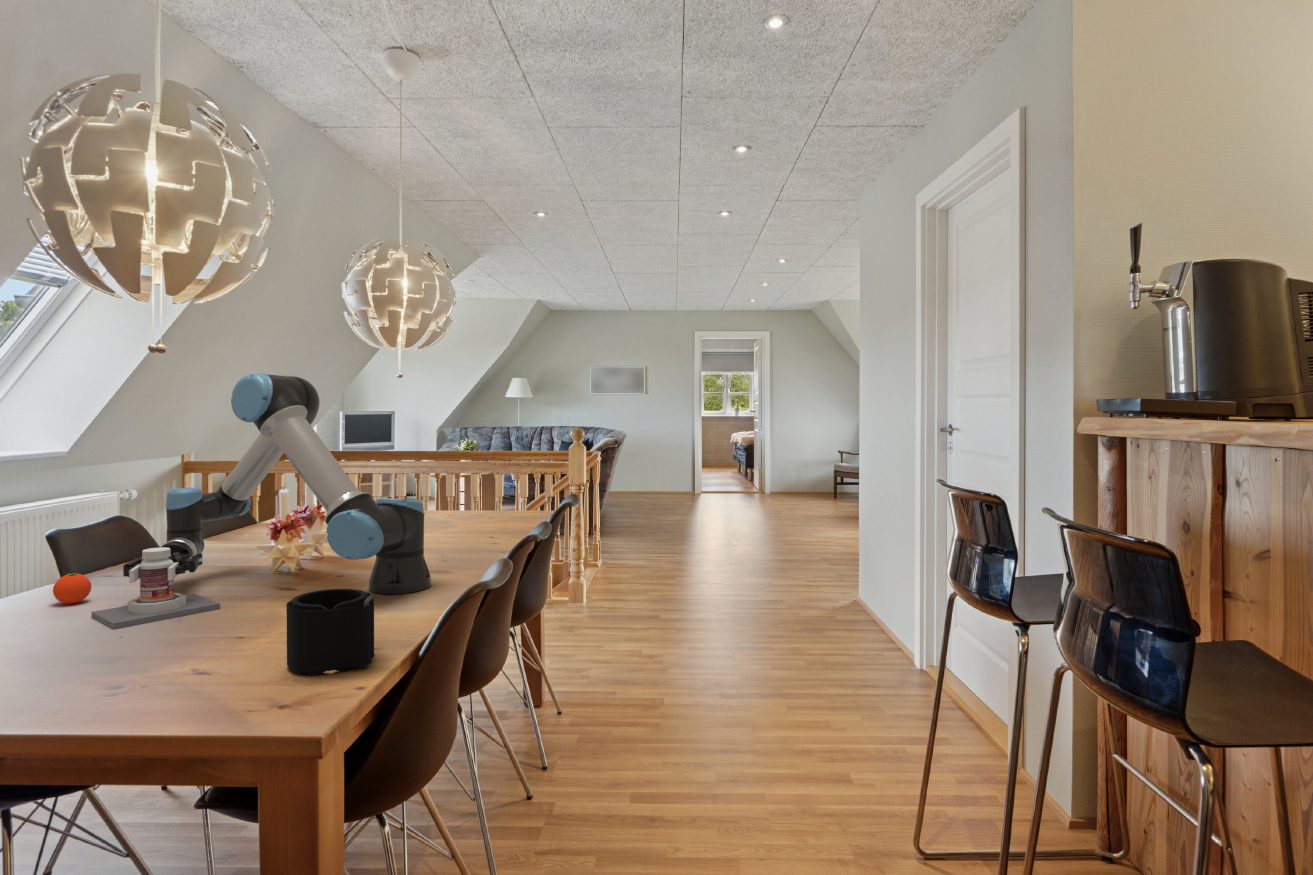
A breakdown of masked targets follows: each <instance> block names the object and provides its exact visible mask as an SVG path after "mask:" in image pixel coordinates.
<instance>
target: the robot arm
mask: <svg viewBox="0 0 1313 875" xmlns="http://www.w3.org/2000/svg"><path fill="white" fill-rule="evenodd" d="M230 402H231V403H230V404H231V410H232V411H233V414H234V415H235V417H236V418H238V419H239V420H241V421H242V422H246V423H249V424H250V423H253V424H254V425H255V427H256V428H257V429H258V431H259V432H260V433H259V435H258V437H256V438H255V440H254V442H253V443H252V444H251V446H250V447H249V448H248V449H247V451H246V452H245V453H244V455H243V456H242V457H241V459H239V462H238V463H237V464H236V465H235V467H234V468H233V469H232V470H231V472H230V474H229V475H228V476H227V477H226V478H225V480H224V481H223V483H222V484H221V485H220V486H219V488H218V489H217V490H216V491H213V492H203V493H202V489H200V488H199V487H177V488H176V487H174V488H171V489H169V490H168V491H167V493H166V498H165V499H166V502H165V510H166V512H165V513H166V543H164V544H163V545H161V546H160V547H167V548H170V550H171V556H170V557H168V558H169V559H171V560H172V561H173V564H172V565H171V566H170V567H169V568H168V581H171V580H173V579H174V580H175V578H176V577H177V576H179V575H181V574H186V572H188V573H195V572H196V571H197V569H198V567H199V566H202V565H203V551H204V548H205V541H204V539H203V536H202V531H203V529H202V526H203V525H202V524H203V523H205V522H211V521H212V522H213V521H218V520H225V519H233V518H237V517H241V516H243V515H245V514H247V513H248V512H249V510H250V509H251V504H252V500H251V497H252V495H253V494H254V492H255V491H256V489H257V488H258V486H259V485H260V484H261V483H262V482H263V481H264V479H265V478H266V476H267V475H268V474H269V472H271V471H272V469H273V468H274V466H275V465H276V464H277V462H278V461H279V460H280V458H281V457H282V456H283V455H284V456H285V457H286V458H287V459H288V460H289V462H290V463H291V465H292V466H293V467H294V469H295V470H296V472H297V473H298V475H300V477H301V478H302V480H303V481H304V483H305V484H306V485H307V487H308V488H309V489H310V491H311V492H312V494H313V495H314V497H315V498H316V499H317V500H318V502H319V503H320V504H321V506H322V507H323V509H324V510H325V511H326V514H325V518H324V522H325V523H326V525H327V526H326V530H325V531H326V533H327V536H326V539H327V543H328V545H329V546H330V548H331V550H333V552H334V553H336V555H338V556H339V557H341V558H343V559H347V560H349V561H350V560H352V561H357V560H365V559H369V558H373V557H374V556H375V561H374V564H373V567H372V570H371V574H370V576H369V580H368V591H370V592H371V593H375V594H382V595H383V594H384V595H396V594H397V595H399V594H400V595H401V594H410V593H415V592H420V591H423V590H427V589H428V588H430V587H431V584H432V578H431V573H430V570H429V567H428V564H427V562H426V560H425V559H426V558H425V556H424V555H425V546H424V545H425V508H424V507H425V506H424V503H423V502H422V501H421V500H419V499H410V498H409V499H404V498H403V499H402V498H384V497H383V498H377V499H376V500H375V499H374V498H373V496H372V495H371V494H370V493H369V492H366V491H360V489H358V488H357V486H356V485H355V484H354V481H352V480H351V478H350V476H349V475H348V474H347V472H345V470H344V469H343V467H342V466H341V464H340V463H339V462H338V461H337V459H336V458H335V457H334V455H333V453H332V452H331V451H330V449H328V447H327V446H326V444H325V443H324V441H322V438H320V436H319V435H318V433H317V432H316V431H315V430H314V427H312V424H313V422H314V421H315V419H316V417H317V415H318V413H319V409H320V396H319V393H318V391H317V388H316V387H315V386H314V385H313V384H312V383H311V382H309V381H308V380H306V379H305V378H302V377H299V376H294V375H293V376H291V375H290V376H289V375H279V374H278V375H277V374H267V373H262V372H261V373H251V374H247V375H244V376H242V377H241V378H239V380H237V382H236V384H235V385H234V387H233V389H232V392H231V398H230ZM143 561H145V559H142V556H141V557H140V556H136V557H134V559H133V560H131V561H129V562H127V563H125V564H123V566H122V568H123V570H122V572H123V577H128V578H129V579H128V580H129V581H128V583H129V584H135V583H136V582H137V581H138V580H140V564H141V563H142V562H143Z"/></svg>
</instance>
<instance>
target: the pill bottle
mask: <svg viewBox="0 0 1313 875" xmlns="http://www.w3.org/2000/svg"><path fill="white" fill-rule="evenodd" d="M141 554H142V555H141V558H142V559H144V560H145V561H143V562H142V563H141V564H140V579H139V597H140V600H141V602H144V603H155V602H163V601H167V600H170V599H172V598H173V597H174V593H175V581H174V580H175V578H174V579H173V580H171V581H168V568H169V567H170V566H171V565H172V564H173V561H172V560H171V559H169V558H168V557H170V556H171V550H170V548H167V547H161V546H159V547H150V548H146V549H142V552H141Z"/></svg>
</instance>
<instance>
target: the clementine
mask: <svg viewBox="0 0 1313 875" xmlns="http://www.w3.org/2000/svg"><path fill="white" fill-rule="evenodd" d="M91 591H92V583H91V581H90V579H89V578H88V577H87V576H86V575H84V574H81V573H74V572H73V573H72V572H71V573H67V574H65V575H63V576H61V577H60V578H58V579H57V581H55V583H54V585H53V586H52V595H53V596H54V598H55V599H56V601H58V602H59V603H60V602H61V603H63V604H67V605H71V604H72V605H73V604H77V603H80V602H82V601H83V600H85V599H86V598H88V596H89V595H90V593H91Z"/></svg>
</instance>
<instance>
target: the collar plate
mask: <svg viewBox="0 0 1313 875" xmlns="http://www.w3.org/2000/svg"><path fill="white" fill-rule="evenodd" d="M217 610H221V602H219V601H218V602H217V601H216V600H212V599H209V598H207V597H204V596H201V595H199V594H197V593H192V594H188V595H186V594H182V593H180V592H174V597H173V598H172V599H170V600H167V601H163V602H155V603H144V602H141V600H140V596H138V597H136V598H132V599H130V600H128V601H127V605H123V606H117V607H112V608H105V609H100V610H95V611H93V610H92V611H91V618H92V619H94V620H95V621H97V622H99V623H101V624H103V625H105V626H106V627H109V628H111V629H112V630H118V629H122V628H127V627H133V626H138V625H143V624H148V623H153V622H159V621H163V620H169V619H174V618H178V617H179V618H180V617H183V616H184V617H186V616H189V615H195V614H201V613H205V612H206V613H207V612H210V611H217Z"/></svg>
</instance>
